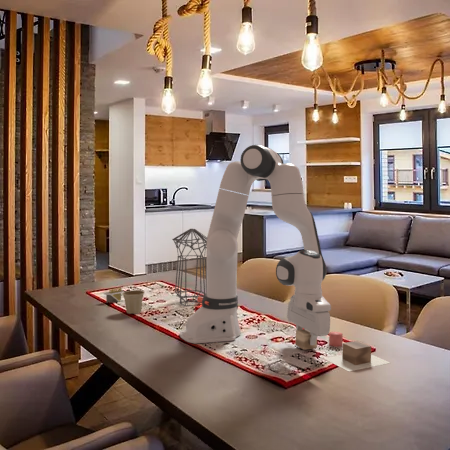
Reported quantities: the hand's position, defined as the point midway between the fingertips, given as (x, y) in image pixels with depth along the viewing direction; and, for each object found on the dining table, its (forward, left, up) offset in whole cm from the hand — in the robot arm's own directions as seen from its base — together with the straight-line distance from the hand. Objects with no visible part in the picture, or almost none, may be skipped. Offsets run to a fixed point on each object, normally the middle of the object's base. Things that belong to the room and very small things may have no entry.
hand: (306, 341), depth 161 cm
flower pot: (-38, +74, -4) cm, 83 cm away
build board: (+7, -16, -4) cm, 18 cm away
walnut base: (+7, -16, -2) cm, 18 cm away
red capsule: (+11, -1, -4) cm, 12 cm away
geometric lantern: (-9, +78, -4) cm, 79 cm away
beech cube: (0, 0, -2) cm, 2 cm away
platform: (-40, +97, -4) cm, 105 cm away
